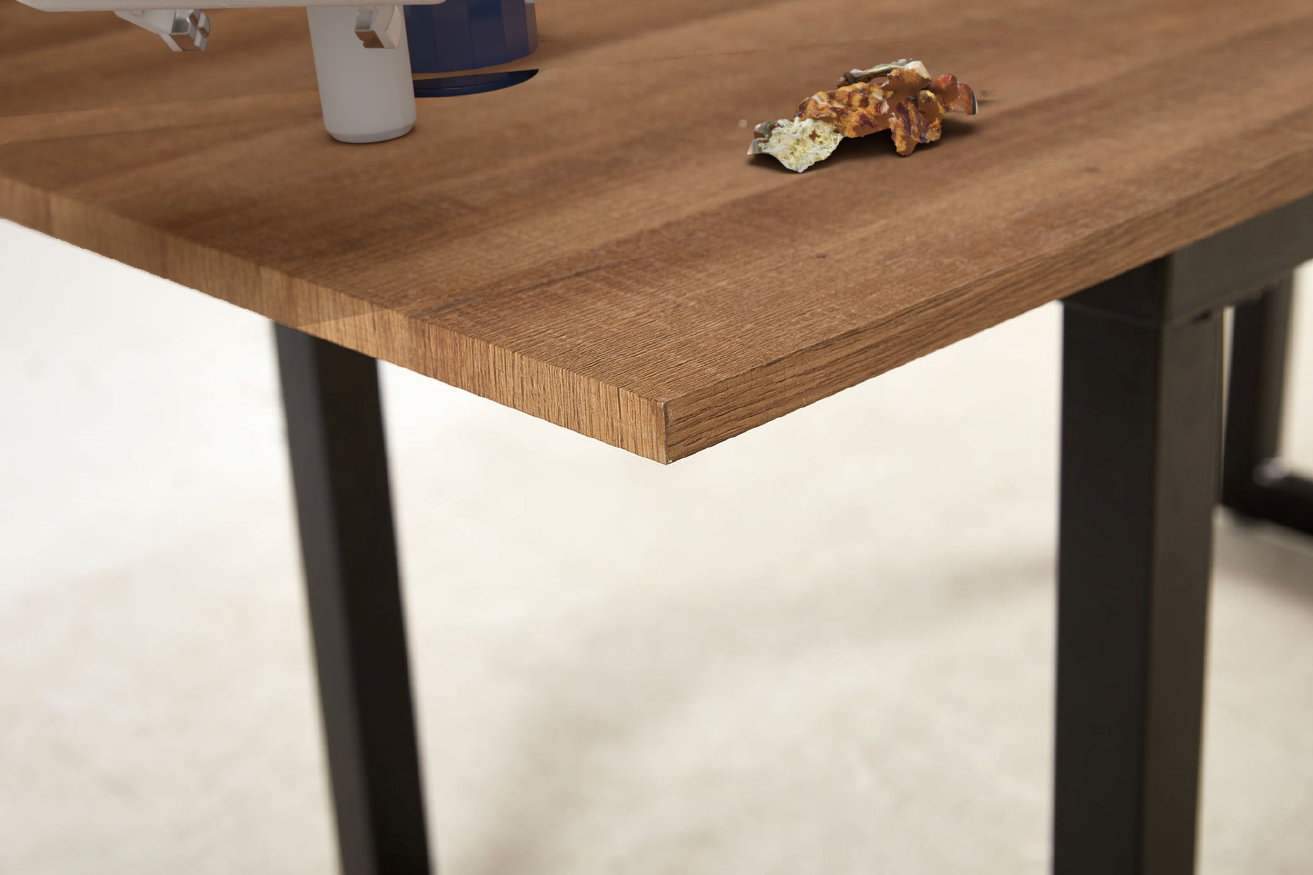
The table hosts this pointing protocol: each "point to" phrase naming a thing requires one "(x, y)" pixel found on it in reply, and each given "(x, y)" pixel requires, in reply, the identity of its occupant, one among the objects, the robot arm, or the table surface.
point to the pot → (469, 44)
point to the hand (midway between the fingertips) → (288, 37)
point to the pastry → (866, 113)
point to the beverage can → (360, 79)
